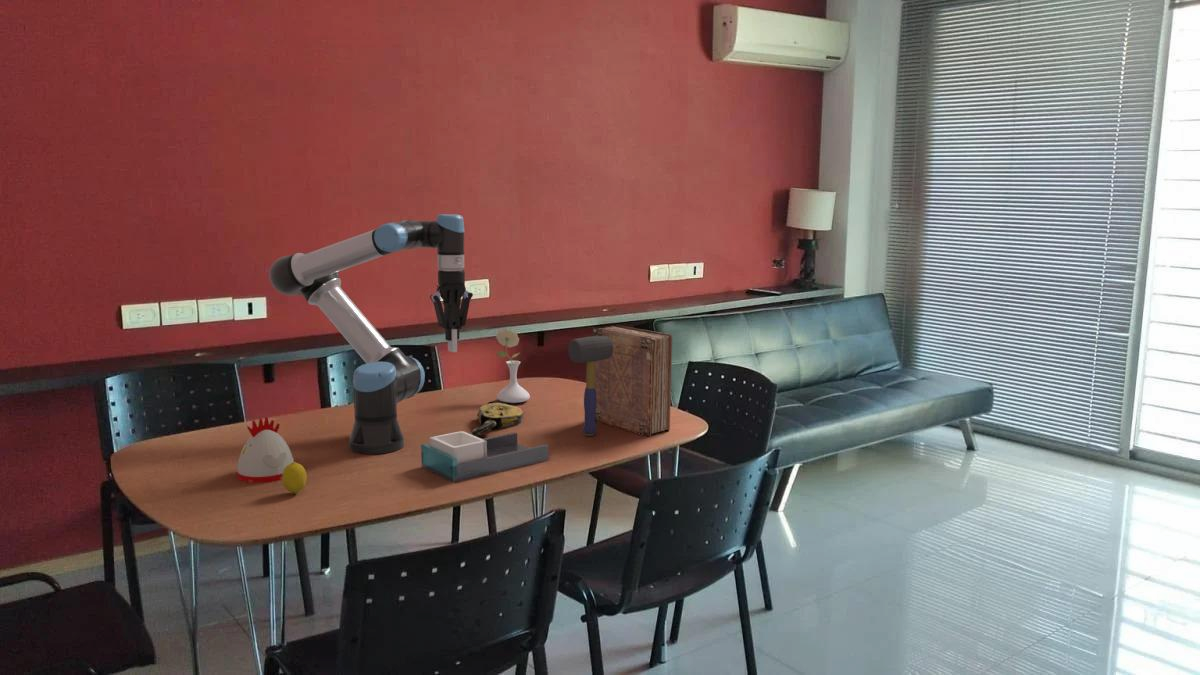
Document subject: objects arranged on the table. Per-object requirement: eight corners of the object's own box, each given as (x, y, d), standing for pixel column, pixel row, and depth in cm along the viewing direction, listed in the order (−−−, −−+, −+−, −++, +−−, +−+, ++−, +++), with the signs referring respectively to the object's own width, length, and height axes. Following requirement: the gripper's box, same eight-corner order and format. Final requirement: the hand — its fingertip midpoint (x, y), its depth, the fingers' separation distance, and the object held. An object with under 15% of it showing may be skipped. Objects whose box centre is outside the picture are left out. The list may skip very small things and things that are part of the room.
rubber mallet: (579, 441, 264) (580, 340, 258) (565, 435, 270) (566, 336, 264) (613, 434, 271) (615, 336, 265) (599, 429, 277) (601, 332, 271)
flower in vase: (536, 400, 311) (536, 329, 307) (516, 407, 302) (516, 333, 297) (506, 395, 318) (506, 325, 313) (486, 401, 308) (485, 329, 304)
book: (670, 431, 275) (673, 334, 270) (649, 437, 269) (652, 338, 264) (612, 415, 293) (613, 324, 288) (591, 420, 287) (592, 327, 282)
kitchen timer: (228, 473, 232) (225, 417, 229) (280, 462, 241) (277, 408, 239) (252, 487, 222) (248, 428, 219) (304, 474, 232) (301, 418, 229)
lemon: (310, 489, 220) (308, 458, 219) (303, 497, 215) (301, 465, 214) (287, 489, 220) (285, 458, 219) (280, 497, 215) (278, 465, 213)
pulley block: (456, 416, 265) (490, 393, 293) (453, 435, 266) (487, 410, 295) (501, 427, 262) (531, 403, 291) (499, 446, 263) (528, 420, 292)
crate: (453, 474, 229) (453, 448, 228) (430, 462, 238) (429, 437, 237) (487, 466, 235) (486, 441, 234) (462, 455, 244) (462, 430, 243)
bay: (452, 482, 227) (452, 459, 226) (421, 466, 239) (421, 444, 238) (548, 460, 246) (548, 438, 245) (514, 446, 258) (514, 425, 257)
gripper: (437, 271, 248) (439, 356, 252) (478, 269, 256) (478, 350, 260) (424, 269, 253) (426, 351, 258) (464, 267, 262) (465, 346, 266)
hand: (452, 351), depth 259 cm, fingers closed
